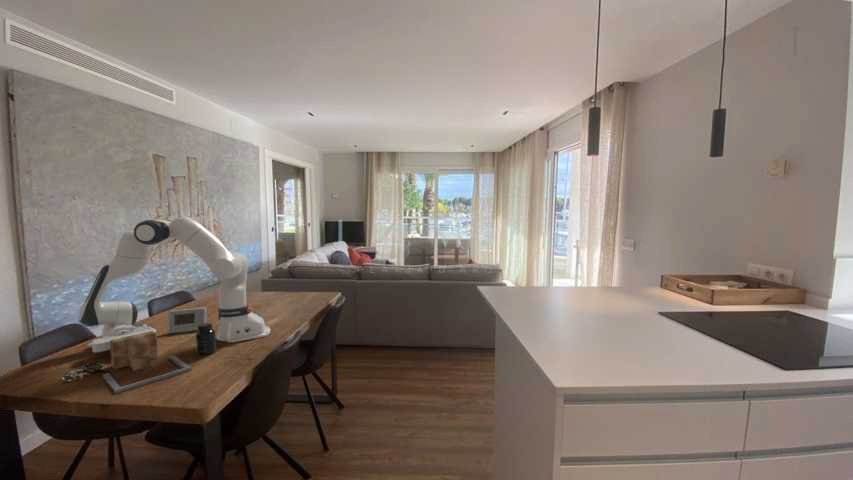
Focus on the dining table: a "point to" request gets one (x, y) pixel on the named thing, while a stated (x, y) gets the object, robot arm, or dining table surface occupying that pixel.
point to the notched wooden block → (134, 351)
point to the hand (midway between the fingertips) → (130, 343)
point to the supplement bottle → (205, 339)
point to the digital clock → (186, 319)
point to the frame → (118, 389)
